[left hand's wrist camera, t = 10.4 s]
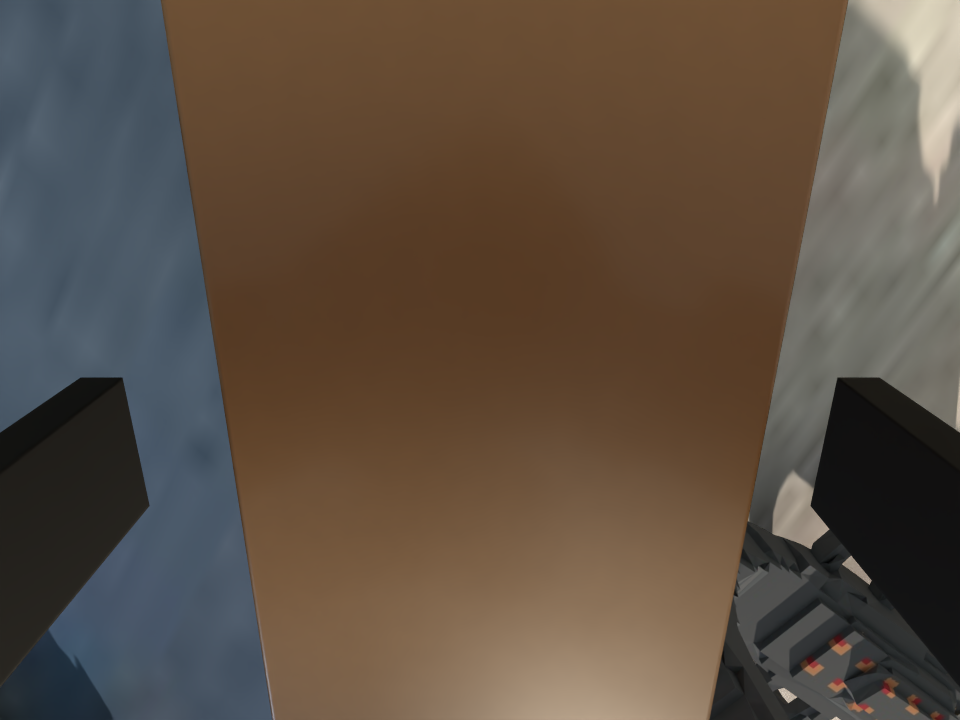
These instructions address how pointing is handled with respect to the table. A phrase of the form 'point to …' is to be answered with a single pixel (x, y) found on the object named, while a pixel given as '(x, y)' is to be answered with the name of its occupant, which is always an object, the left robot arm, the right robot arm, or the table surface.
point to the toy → (821, 642)
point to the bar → (498, 333)
